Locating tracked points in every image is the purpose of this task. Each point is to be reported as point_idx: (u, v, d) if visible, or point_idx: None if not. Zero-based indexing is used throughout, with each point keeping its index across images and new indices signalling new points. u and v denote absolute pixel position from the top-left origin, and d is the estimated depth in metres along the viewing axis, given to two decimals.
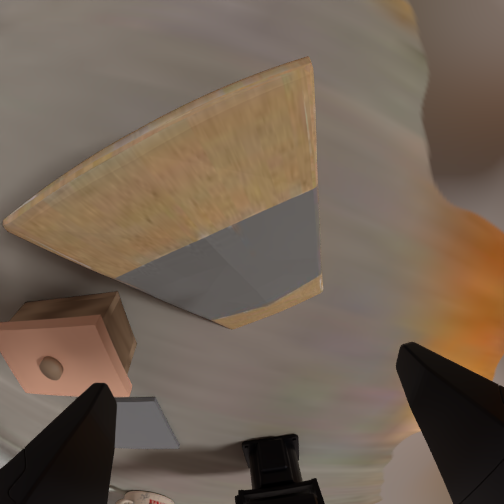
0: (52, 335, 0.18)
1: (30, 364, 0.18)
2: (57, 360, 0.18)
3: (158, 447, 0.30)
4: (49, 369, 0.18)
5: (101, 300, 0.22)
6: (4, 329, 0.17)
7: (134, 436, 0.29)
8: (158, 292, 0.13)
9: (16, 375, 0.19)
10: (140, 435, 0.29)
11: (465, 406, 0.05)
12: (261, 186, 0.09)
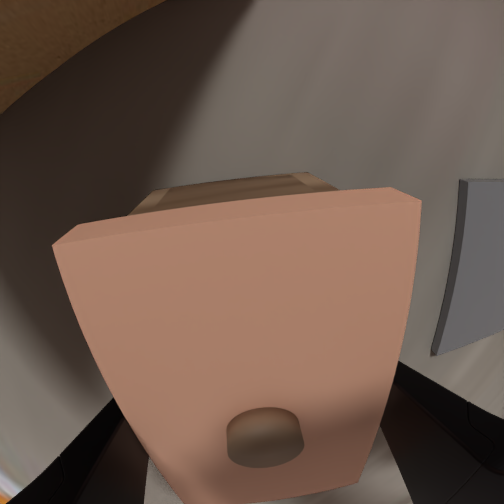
0: (141, 401, 0.06)
1: (266, 470, 0.08)
2: (240, 415, 0.07)
3: None
4: (255, 451, 0.06)
5: None
6: (171, 484, 0.08)
7: None
8: None
9: (305, 492, 0.09)
10: None
11: (427, 423, 0.05)
12: None
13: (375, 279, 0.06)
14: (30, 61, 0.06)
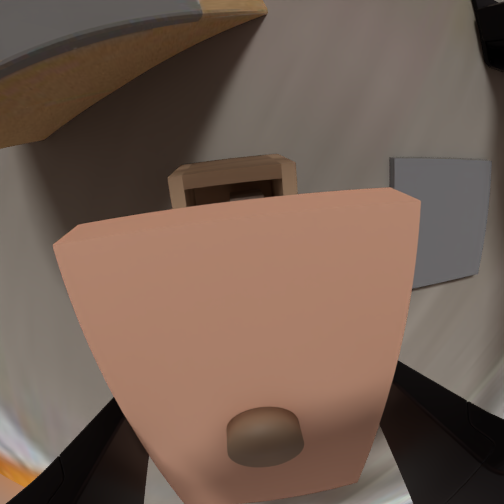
0: (141, 401, 0.06)
1: (266, 469, 0.08)
2: (240, 415, 0.07)
3: (486, 193, 0.18)
4: (256, 450, 0.06)
5: None
6: (171, 483, 0.08)
7: (463, 224, 0.19)
8: (18, 45, 0.06)
9: (305, 492, 0.09)
10: (462, 213, 0.18)
11: (427, 423, 0.05)
12: None
13: (374, 279, 0.06)
14: (110, 82, 0.13)
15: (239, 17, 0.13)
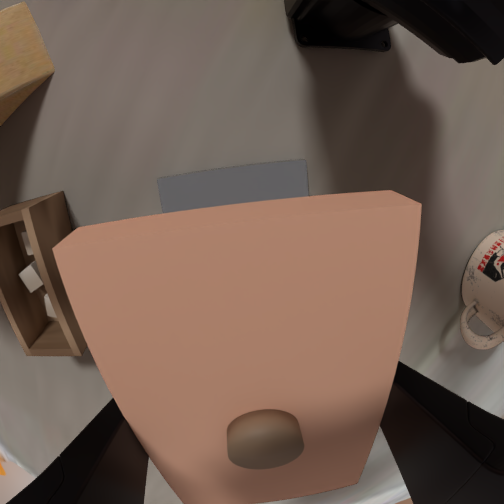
0: (141, 403, 0.06)
1: (266, 471, 0.08)
2: (240, 417, 0.07)
3: None
4: (256, 452, 0.06)
5: None
6: (172, 485, 0.08)
7: None
8: None
9: (305, 493, 0.09)
10: None
11: (427, 423, 0.05)
12: None
13: (374, 282, 0.06)
14: None
15: (26, 87, 0.14)
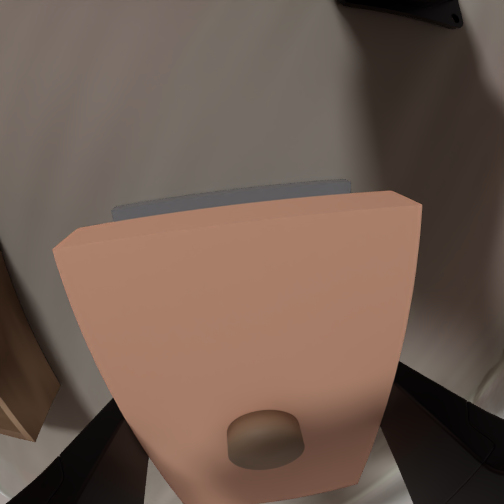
0: (142, 404, 0.06)
1: (267, 471, 0.08)
2: (241, 418, 0.07)
3: None
4: (256, 453, 0.06)
5: None
6: (172, 485, 0.08)
7: None
8: None
9: (305, 494, 0.09)
10: None
11: (427, 423, 0.05)
12: None
13: (375, 283, 0.06)
14: None
15: None
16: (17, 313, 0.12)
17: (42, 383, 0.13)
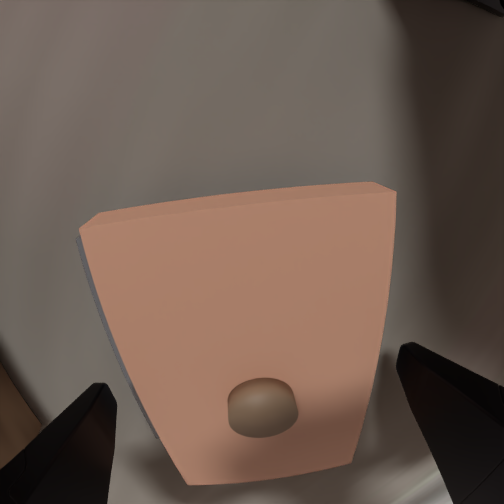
0: (151, 372, 0.07)
1: (264, 444, 0.09)
2: (240, 385, 0.08)
3: None
4: (254, 418, 0.07)
5: None
6: (174, 461, 0.09)
7: None
8: None
9: (301, 471, 0.10)
10: None
11: (465, 406, 0.05)
12: None
13: (356, 259, 0.07)
14: None
15: None
16: None
17: (20, 426, 0.10)
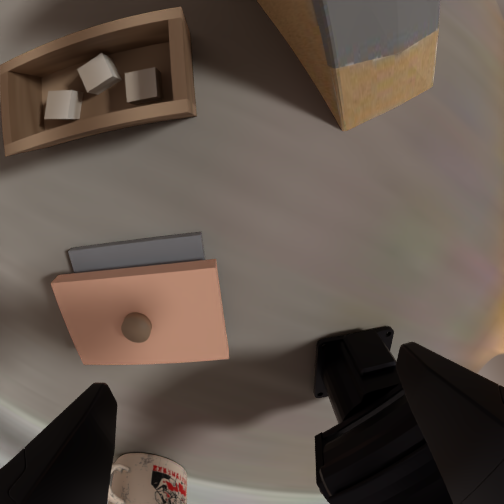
0: (149, 284, 0.17)
1: (103, 325, 0.18)
2: (146, 317, 0.18)
3: None
4: (135, 327, 0.17)
5: None
6: (75, 280, 0.17)
7: None
8: None
9: (76, 342, 0.18)
10: None
11: (465, 406, 0.05)
12: None
13: (204, 350, 0.19)
14: None
15: (335, 104, 0.16)
16: (116, 129, 0.16)
17: (52, 144, 0.15)
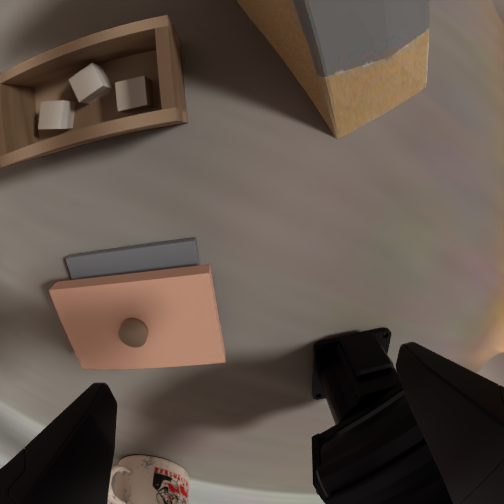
0: (144, 290, 0.17)
1: (101, 330, 0.18)
2: (142, 322, 0.18)
3: None
4: (132, 333, 0.18)
5: None
6: (73, 286, 0.17)
7: None
8: None
9: (75, 347, 0.19)
10: None
11: (465, 406, 0.05)
12: None
13: (201, 354, 0.19)
14: (253, 8, 0.13)
15: (327, 111, 0.16)
16: (109, 137, 0.16)
17: (47, 154, 0.15)
